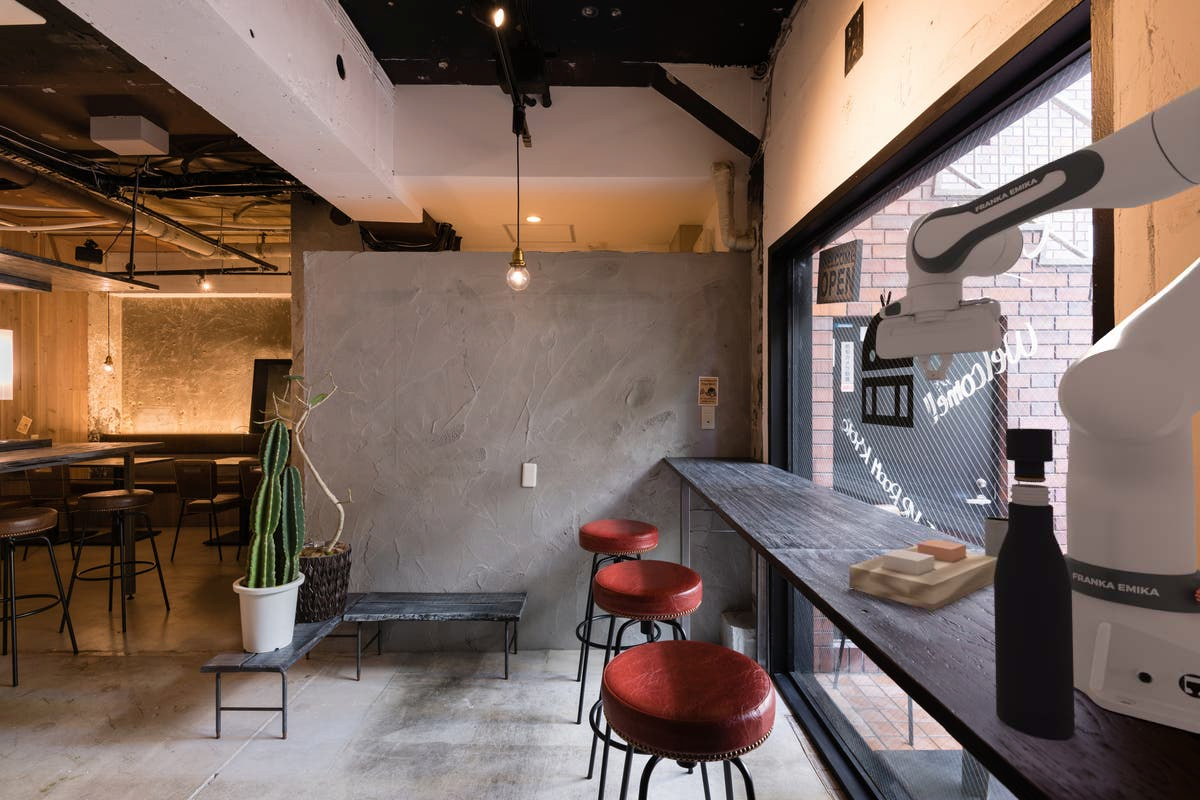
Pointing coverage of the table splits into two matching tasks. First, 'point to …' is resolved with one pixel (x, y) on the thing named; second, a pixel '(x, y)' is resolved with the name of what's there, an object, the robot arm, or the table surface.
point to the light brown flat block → (924, 580)
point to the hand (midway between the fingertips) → (935, 380)
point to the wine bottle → (1033, 602)
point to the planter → (994, 534)
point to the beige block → (908, 562)
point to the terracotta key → (943, 550)
